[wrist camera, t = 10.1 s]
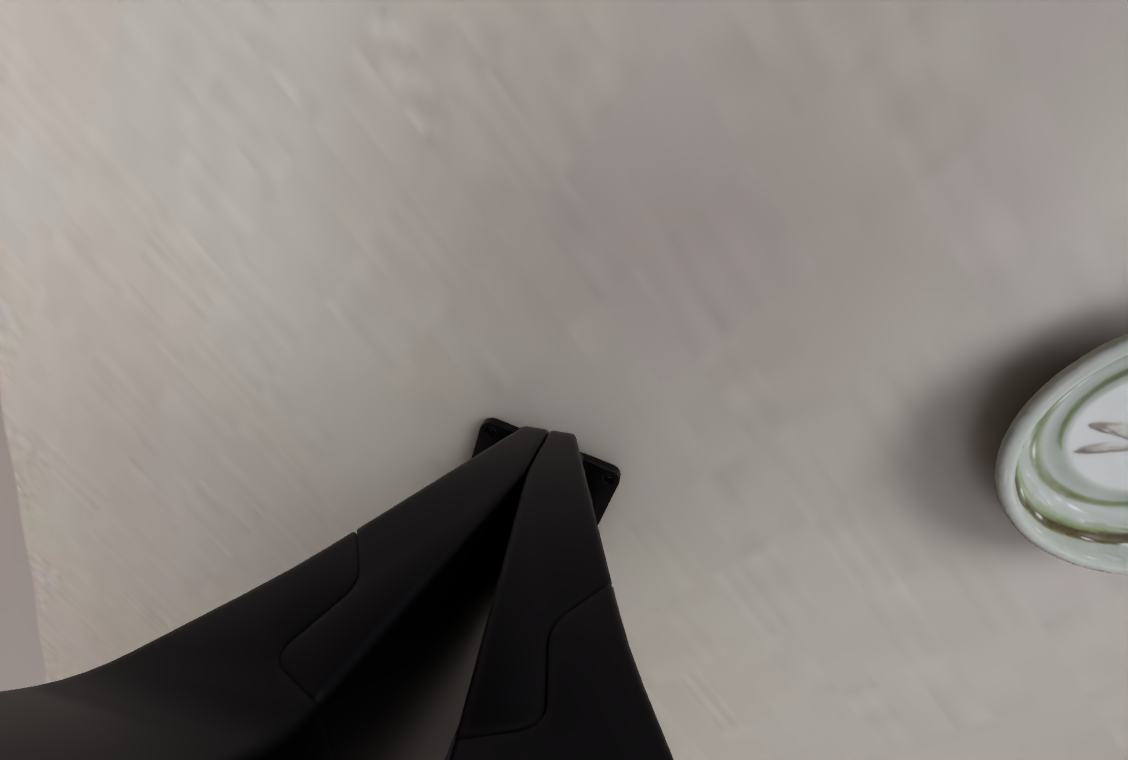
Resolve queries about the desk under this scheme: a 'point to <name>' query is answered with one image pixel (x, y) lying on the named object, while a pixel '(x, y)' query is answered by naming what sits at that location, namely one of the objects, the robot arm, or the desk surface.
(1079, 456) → the saucer
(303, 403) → the desk surface
